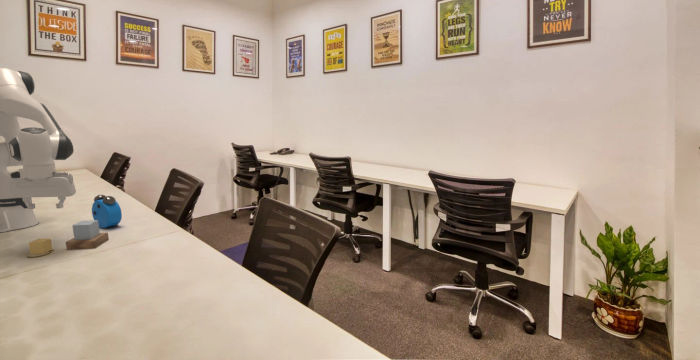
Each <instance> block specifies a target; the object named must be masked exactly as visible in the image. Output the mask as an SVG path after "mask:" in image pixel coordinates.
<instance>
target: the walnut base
mask: <svg viewBox="0 0 700 360" xmlns="http://www.w3.org/2000/svg"><path fill="white" fill-rule="evenodd" d="M108 240H109V233H108V232H100V235H98V236H96V237H94V238H93V239H88V240H74V237H72V238H71V239H69V240H67V241H65V248H66V251H69V250H84V249H85V250H86V249H87V250H88V249H96V248H98V247H99V246H101V245H102V244H104V243H106V242H107V241H108Z"/></svg>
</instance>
